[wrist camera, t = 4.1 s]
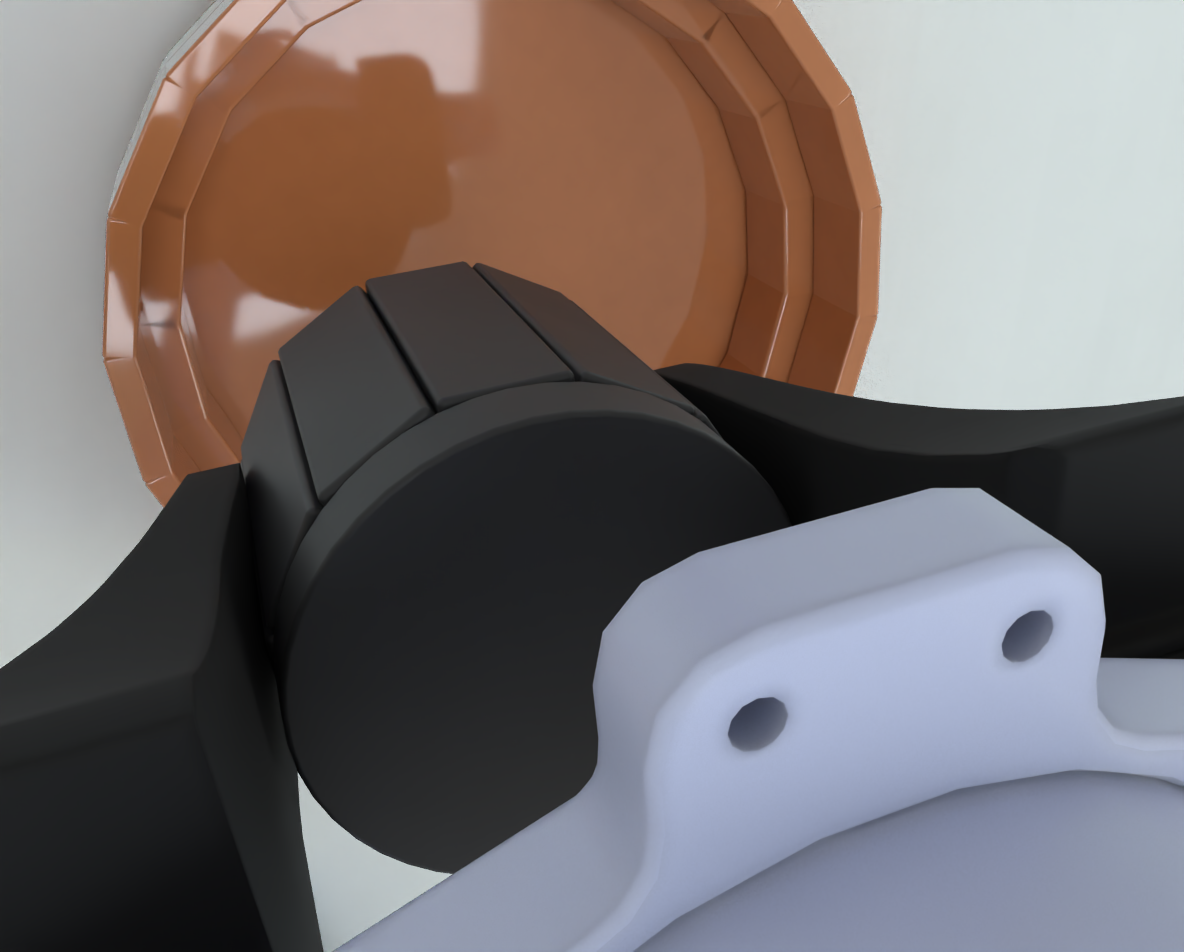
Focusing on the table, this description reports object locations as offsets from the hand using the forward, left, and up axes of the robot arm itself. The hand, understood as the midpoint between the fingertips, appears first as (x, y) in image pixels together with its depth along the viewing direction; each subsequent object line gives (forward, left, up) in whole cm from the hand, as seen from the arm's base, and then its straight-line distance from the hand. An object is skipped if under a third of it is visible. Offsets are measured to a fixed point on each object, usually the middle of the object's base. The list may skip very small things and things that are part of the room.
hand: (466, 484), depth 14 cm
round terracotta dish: (0, -3, -9) cm, 10 cm away
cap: (0, 0, -1) cm, 1 cm away
